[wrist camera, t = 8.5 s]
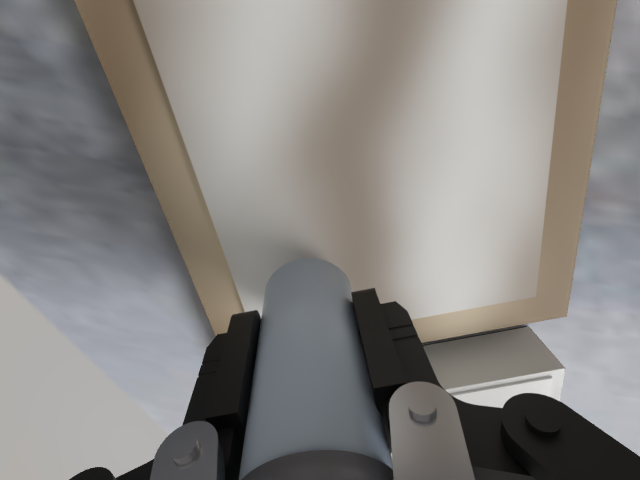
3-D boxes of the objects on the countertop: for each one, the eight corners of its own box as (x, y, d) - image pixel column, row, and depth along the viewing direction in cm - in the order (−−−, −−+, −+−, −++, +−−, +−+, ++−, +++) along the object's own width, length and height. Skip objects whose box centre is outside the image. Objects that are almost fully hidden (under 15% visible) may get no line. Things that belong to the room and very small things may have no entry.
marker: (347, 247, 12) (415, 503, 5) (360, 323, 13) (427, 601, 6) (250, 266, 12) (188, 541, 5) (274, 339, 13) (251, 629, 6)
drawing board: (662, -491, 7) (718, -575, 6) (554, 304, 15) (570, 319, 14) (-38, -311, 7) (-86, -364, 6) (236, 362, 16) (232, 381, 15)
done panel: (529, 326, 16) (568, 372, 13) (515, 461, 20) (543, 512, 18) (350, 359, 16) (359, 409, 14) (376, 484, 21) (386, 538, 18)
